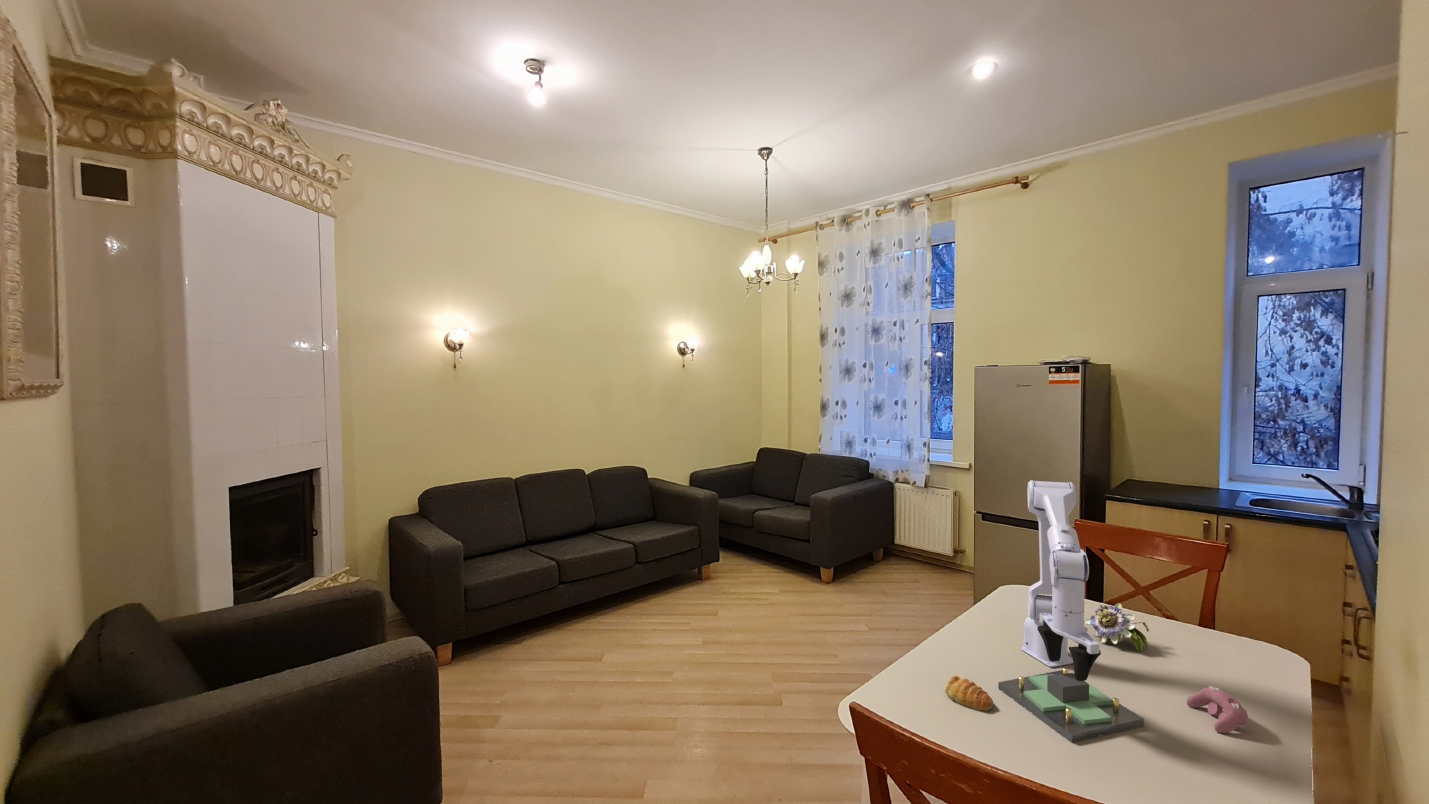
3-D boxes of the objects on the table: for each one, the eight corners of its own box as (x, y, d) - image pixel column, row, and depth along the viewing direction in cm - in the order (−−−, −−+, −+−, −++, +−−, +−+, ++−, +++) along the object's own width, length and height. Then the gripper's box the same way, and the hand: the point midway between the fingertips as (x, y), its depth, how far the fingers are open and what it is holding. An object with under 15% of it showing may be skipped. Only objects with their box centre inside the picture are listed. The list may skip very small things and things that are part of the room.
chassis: (998, 688, 125) (998, 671, 125) (1063, 676, 130) (1063, 659, 130) (1071, 742, 107) (1071, 722, 107) (1143, 725, 111) (1144, 706, 111)
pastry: (999, 705, 120) (999, 688, 120) (983, 717, 116) (983, 700, 115) (957, 686, 127) (957, 670, 127) (941, 697, 123) (941, 680, 123)
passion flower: (1104, 663, 145) (1073, 619, 149) (1125, 645, 150) (1095, 603, 154) (1143, 656, 136) (1109, 609, 140) (1164, 637, 141) (1131, 592, 145)
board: (1008, 681, 125) (1008, 663, 125) (1073, 675, 127) (1073, 657, 127) (1061, 726, 109) (1061, 705, 109) (1134, 718, 111) (1134, 697, 111)
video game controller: (1238, 744, 108) (1258, 714, 107) (1214, 731, 108) (1234, 702, 108) (1203, 713, 118) (1221, 685, 117) (1182, 702, 118) (1199, 674, 117)
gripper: (1113, 621, 111) (1112, 687, 111) (1060, 592, 125) (1059, 651, 126) (1081, 624, 110) (1080, 690, 110) (1031, 594, 124) (1030, 653, 125)
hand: (1067, 669), depth 118 cm, fingers open, 7 cm apart
